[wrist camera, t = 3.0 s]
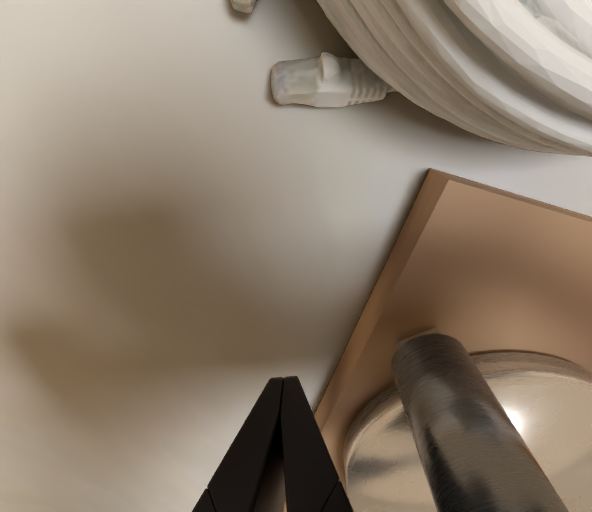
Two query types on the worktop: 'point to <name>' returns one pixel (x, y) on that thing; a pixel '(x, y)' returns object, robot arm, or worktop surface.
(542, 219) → the board
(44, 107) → the worktop surface
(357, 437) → the metal disc with handle
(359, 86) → the cable
